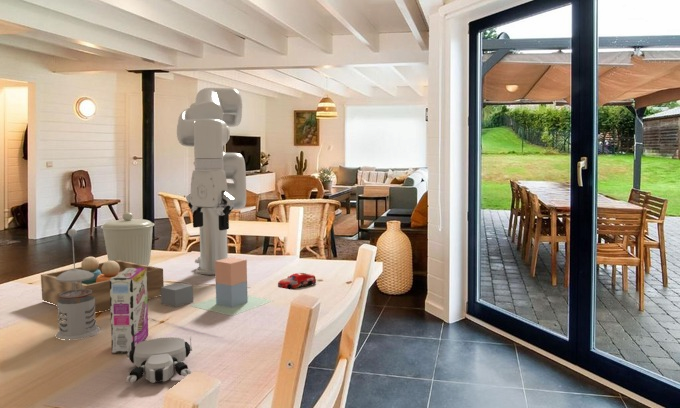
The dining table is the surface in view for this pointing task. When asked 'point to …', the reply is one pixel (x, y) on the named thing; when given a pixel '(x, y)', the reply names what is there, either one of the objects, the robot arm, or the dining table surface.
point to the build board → (230, 311)
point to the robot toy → (159, 359)
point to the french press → (76, 305)
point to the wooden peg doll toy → (107, 269)
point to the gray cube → (176, 294)
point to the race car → (297, 281)
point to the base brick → (231, 294)
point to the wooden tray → (99, 285)
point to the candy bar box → (128, 309)
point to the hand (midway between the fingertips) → (210, 228)
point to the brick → (231, 271)
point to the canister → (128, 239)
